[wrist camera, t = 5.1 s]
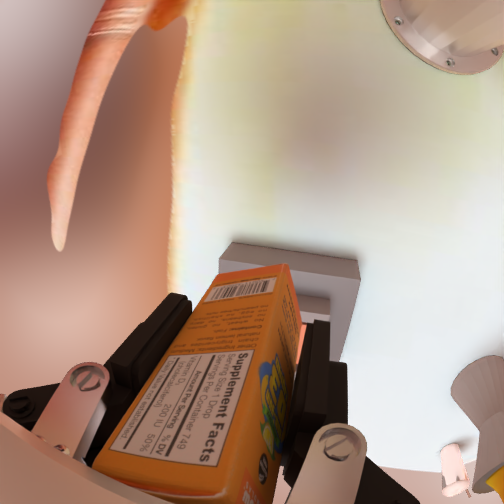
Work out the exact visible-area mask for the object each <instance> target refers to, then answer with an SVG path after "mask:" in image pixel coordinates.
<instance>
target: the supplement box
mask: <svg viewBox="0 0 504 504" xmlns="http://www.w3.org/2000/svg"><path fill="white" fill-rule="evenodd" d="M301 327H302V319H301V315H300V309H299V305H298V301H297V297H296V292H295V288H294V284H293V280H292V277H291V273H290V269H289V265H288V264H287V263H281V264H276V265H270V266H265V267H259V268H253V269H247V270H240V271H234V272H227V273H221V274H218V275H217V276H216V277H215V279H214V280H213V282H212V284H211V285H210V287H209V288H208V290H207V291H206V293H205V294H204V296H203V297H202V299H201V300H200V302H199V303H198V305H197V306H196V307H195V309H194V311H193V312H192V314H191V315H190V317H189V318H188V320H187V321H186V323H185V324H184V326H183V327H182V329H181V330H180V331H179V333H178V334H177V336H176V337H175V339H174V340H173V342H172V343H171V345H170V347H169V348H168V350H167V351H166V353H165V354H164V356H163V357H162V359H161V360H160V362H159V363H158V365H157V366H156V368H155V369H154V371H153V373H152V374H151V376H150V377H149V379H148V380H147V382H146V383H145V385H144V386H143V388H142V389H141V391H140V392H139V394H138V395H137V397H136V398H135V400H134V402H133V403H132V404H131V406H130V407H129V409H128V410H127V412H126V413H125V415H124V416H123V418H122V419H121V421H120V422H119V424H118V425H117V427H116V428H115V430H114V431H113V433H112V434H111V436H110V437H109V439H108V440H107V442H106V444H105V445H104V447H103V448H102V450H101V451H100V453H99V454H98V455H97V457H96V458H95V460H94V462H93V465H92V469H94V470H96V471H98V472H100V473H102V474H104V475H106V476H108V477H110V478H112V479H114V480H116V481H118V482H121V483H123V484H125V485H127V486H130V487H132V488H134V489H137V490H139V491H142V492H144V493H147V494H149V495H152V496H154V497H157V498H160V499H162V500H165V501H168V502H171V503H174V504H272V503H273V498H274V493H275V488H276V483H277V478H278V473H279V467H280V463H281V458H282V456H281V454H282V449H283V444H284V439H285V433H286V428H287V422H288V417H289V411H290V404H291V398H292V390H293V384H294V376H295V369H296V361H297V354H298V346H299V340H300V332H301Z"/></svg>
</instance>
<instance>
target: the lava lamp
mask: <svg viewBox="0 0 504 504" xmlns="http://www.w3.org/2000/svg"><path fill="white" fill-rule="evenodd" d="M451 396H452V397H453V399H454V401H455V402H456V403H457V404H458V405H459V407H460V408H461V409H462V410H463V411H464V413H465V414H466V415H467V416H468V417H469V419H470V420H471V421H472V422H473V424H474V425H475V426H476V427H477V428H478V430H479V431H480V435H479V444H478V453H477V460H476V467H475V473H474V479H473V485H472V490H473V492H474V493H479V494H481V493H488V492H492V491H494V490H495V491H496V492H497V493H498V494H499V495H500V497H501V499H502V501H503V503H504V359H503V358H502V357H499V356H495V355H493V356H486V357H483V358H481V359H478V360H476V361H474V362H473V363H471V364H470V365H468V366H467V367H466V368H465V369H463V370H462V371H461V372H460V373H459V375H458V376H457V377H456V379H455V380H454V382H453V384H452V387H451Z"/></svg>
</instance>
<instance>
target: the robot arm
mask: <svg viewBox="0 0 504 504" xmlns="http://www.w3.org/2000/svg"><path fill="white" fill-rule="evenodd" d="M380 3H381V7H382V11H383V14H384V16H385V18H386V20H387V23H388V24H389V26H390V27H391V29H392V30H393V32H394V34H395V35H396V36H397V37H398V38H399V40H400V41H401V42H402V43H403V44H404V45H405V46H406V47H407V48H408V49H409V50H410V51H411V52H412V53H413V54H415V55H416V56H417V57H419V58H420V59H422V60H423V61H425V62H426V63H428V64H430V65H432V66H434V67H436V68H438V69H440V70H443V71H446V72H449V73H454V74H460V75H469V74H476V73H480V72H483V71H485V70H487V69H490V68H491V67H492V66H493V65H495V64H496V63H497V62H498V60H499V59H500V58H501V56H502V53H503V50H504V0H380ZM395 21H397V22H399V24H400V25H398V24H396V23H395ZM446 61H447V62H448V63H449V66H448V64H447V63H446ZM191 314H192V302H191V301H190V300H188V298H187V296H186V295H181V294H177V293H170V294H169V295H168V296H167V297H166V298H165V299H164V300H163V301H162V303H161V304H160V305H159V306H158V307H157V308H156V309H155V310H154V312H153V313H152V314H151V315H150V316H149V317H148V318H147V319H146V320H145V322H143V323H140V324H139V325H138V326H137V328H136V329H135V330H134V331H133V332H132V333H131V334H130V335H129V336H128V338H127V339H126V340H125V341H124V342H123V343H122V345H121V346H120V347H119V348H118V349H117V350H116V351H115V352H114V354H113V355H112V356H111V357H110V358H109V359H108V360H107V362H106V363H105V364H104V365H103V366H102V365H101V364H98V363H94V362H84V363H80V364H78V365H76V366H74V367H72V368H71V369H70V370H69V371H68V372H67V374H66V375H65V377H64V379H63V380H62V382H61V383H57V384H51V385H46V386H41V387H34V388H28V389H22V390H18V391H15V392H13V393H11V394H10V395H9V396H8V397H7V396H6V395H5V394H0V504H174V503H171V502H168V501H165V500H162V499H160V498H157V497H154V496H152V495H149V494H147V493H144V492H142V491H139V490H137V489H134V488H132V487H130V486H127V485H125V484H123V483H121V482H118V481H116V480H114V479H112V478H110V477H108V476H106V475H104V474H102V473H100V472H98V471H96V470H94V469H92V465H93V462H94V460H95V458H96V457H97V455H98V454H99V453H100V451H101V450H102V448H103V447H104V445H105V444H106V442H107V440H108V439H109V437H110V436H111V434H112V433H113V431H114V430H115V428H116V427H117V425H118V424H119V422H120V421H121V419H122V418H123V416H124V415H125V413H126V412H127V410H128V409H129V407H130V406H131V404H132V403H133V402H134V400H135V398H136V397H137V395H138V394H139V392H140V391H141V389H142V388H143V386H144V385H145V383H146V382H147V380H148V379H149V377H150V376H151V374H152V373H153V371H154V369H155V368H156V366H157V365H158V363H159V362H160V360H161V359H162V357H163V356H164V354H165V353H166V351H167V350H168V348H169V347H170V345H171V343H172V342H173V340H174V339H175V337H176V336H177V334H178V333H179V331H180V330H181V329H182V327H183V326H184V324H185V323H186V321H187V320H188V318H189V317H190V315H191ZM366 452H367V442H366V439H365V437H364V436H363V434H362V433H361V432H360V431H359V430H357V429H356V428H355V427H353V426H350V425H348V381H347V364H346V363H343V362H336V361H330V322H329V321H323V320H316V319H314V322H313V323H308V322H307V326H306V330H305V335H304V340H303V344H302V349H301V353H300V358H299V362H298V367H297V371H296V375H295V380H294V384H293V390H292V398H291V404H290V411H289V417H288V422H287V428H286V433H285V439H284V444H283V449H282V454H281V456H282V458H281V463H280V466H284V470H283V474H282V475H284V480H285V481H286V482H287V483H288V485H289V486H290V487H291V490H290V492H289V495H288V497H287V499H286V502H285V504H420V502H419V501H418V500H417V499H416V498H415V497H414V496H413V495H412V494H411V493H409V492H408V491H407V490H406V489H404V488H403V487H402V486H401V485H400V484H398V483H397V482H396V481H395V480H394V479H392V478H391V477H390V476H389V475H388V474H386V473H385V472H384V471H383V470H382V469H380V468H379V467H378V466H377V465H376V464H375V463H374V462H372V461H371V460H370V459H369V458H368V457H367V456H366Z"/></svg>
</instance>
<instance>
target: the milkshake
mask: <svg viewBox="0 0 504 504" xmlns="http://www.w3.org/2000/svg"><path fill="white" fill-rule="evenodd" d="M440 453H441V466H442V494H443V495H445V496H449V497H452V496H454V495H457V494H459V493H461V492H462V491H464V490H465V491H466V493H467V495H468V497H469V498H470V497H471V495H470V493H469V491H468V489H467V488H468V486H469V484H470V480H469V478H468V474H467V471H466V468H465V466H464V462H463V459H462V456H461V452H460V449H459V446H458V444H455V443H453V444H449V445H447V446H445V447H444V448H443V449H442V450H441V451H440Z"/></svg>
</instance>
